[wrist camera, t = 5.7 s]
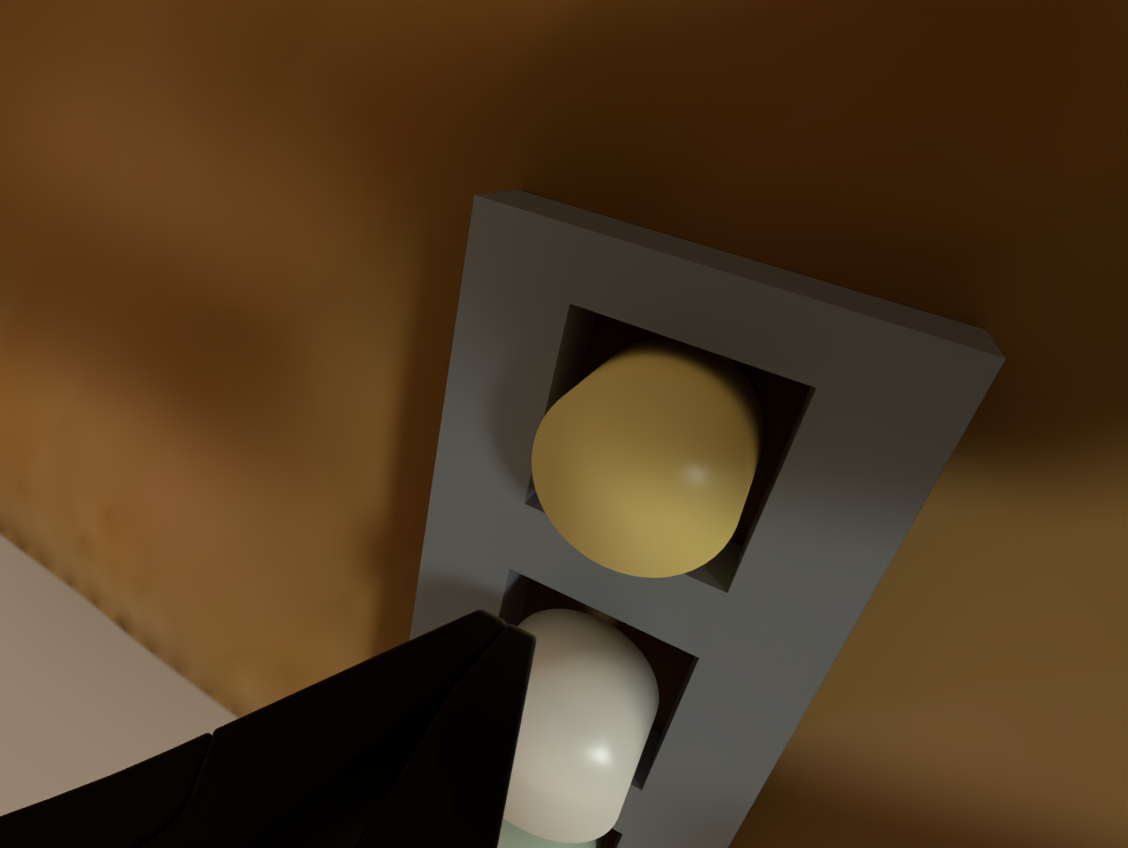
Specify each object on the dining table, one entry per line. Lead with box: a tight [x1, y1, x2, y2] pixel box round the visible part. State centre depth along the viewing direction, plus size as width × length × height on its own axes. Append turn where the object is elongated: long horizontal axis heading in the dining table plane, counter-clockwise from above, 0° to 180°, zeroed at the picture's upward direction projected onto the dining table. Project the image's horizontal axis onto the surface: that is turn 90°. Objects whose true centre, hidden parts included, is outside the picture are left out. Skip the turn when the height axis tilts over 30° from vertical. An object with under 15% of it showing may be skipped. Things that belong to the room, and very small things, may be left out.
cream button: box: [503, 609, 659, 843], centre depth 16 cm, size 4×4×3 cm
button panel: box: [409, 190, 1006, 848], centre depth 18 cm, size 10×22×2 cm, turn 167°
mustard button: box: [532, 337, 765, 578], centre depth 14 cm, size 4×4×3 cm
